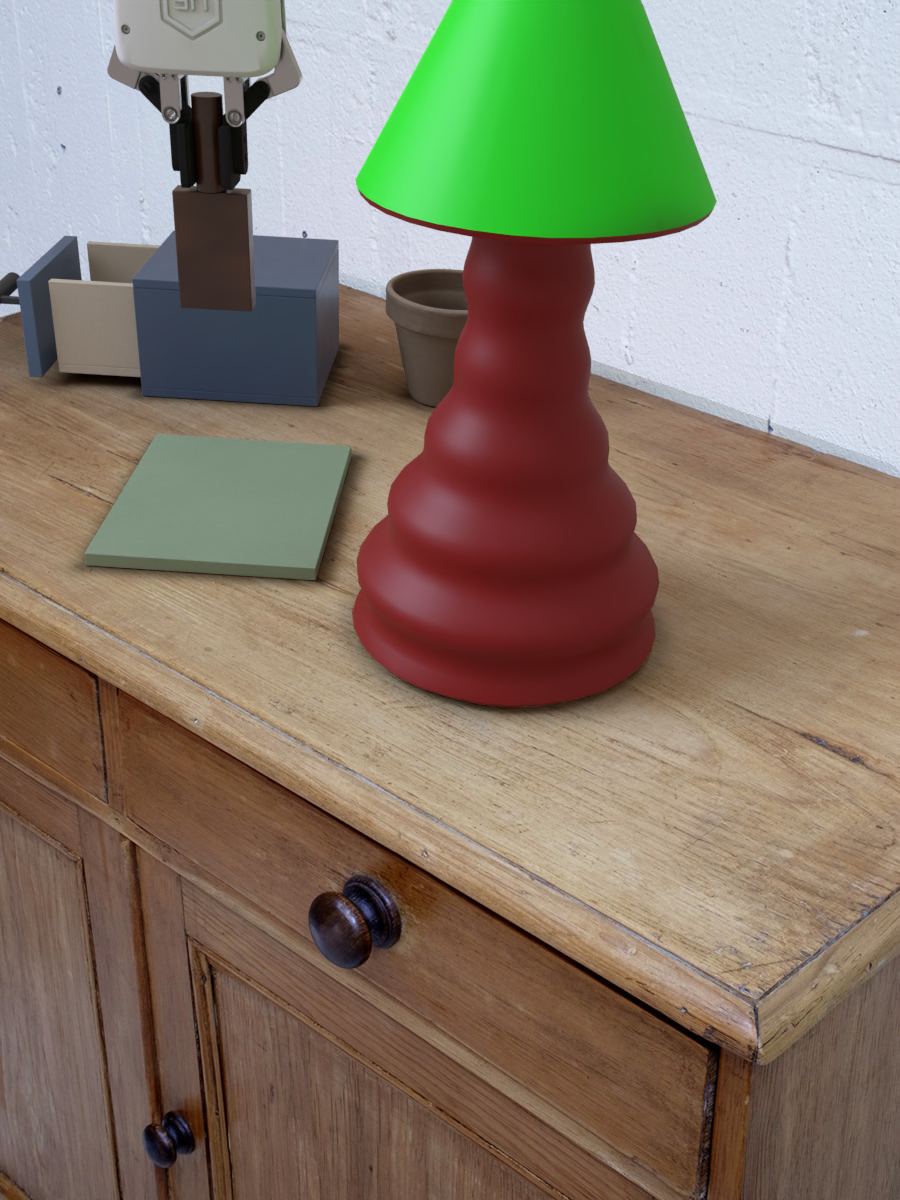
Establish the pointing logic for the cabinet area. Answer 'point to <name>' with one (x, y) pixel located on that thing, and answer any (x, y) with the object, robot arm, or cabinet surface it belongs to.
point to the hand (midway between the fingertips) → (211, 181)
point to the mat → (225, 508)
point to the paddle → (213, 224)
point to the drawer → (80, 308)
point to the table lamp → (524, 350)
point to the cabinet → (243, 328)
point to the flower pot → (428, 328)
